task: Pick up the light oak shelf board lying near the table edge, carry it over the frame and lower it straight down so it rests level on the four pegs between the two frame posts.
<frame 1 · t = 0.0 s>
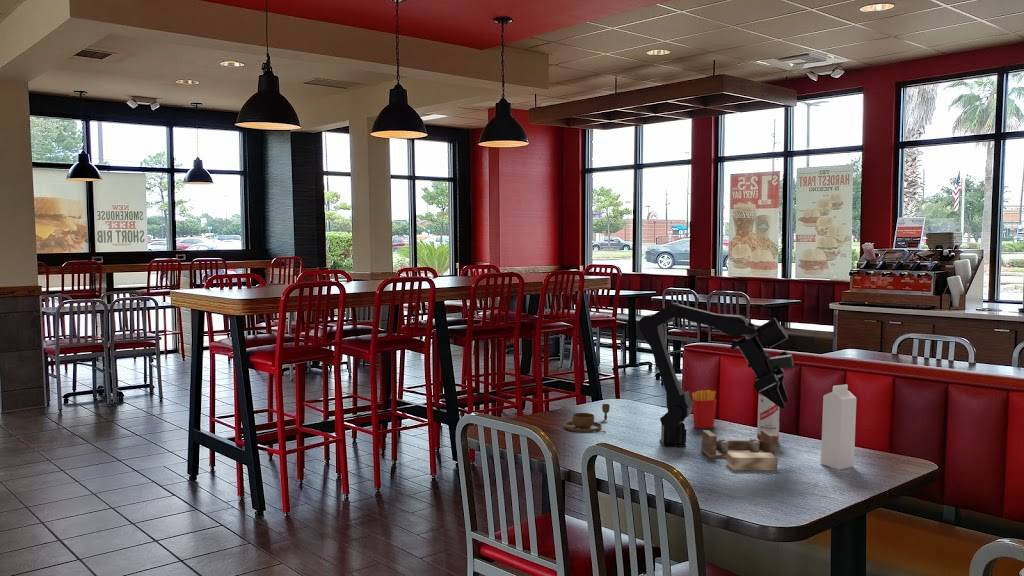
hand: (785, 404, 221), 15 cm above the table, tool tilted 35°, fingers open, 9 cm apart
milk: (837, 466, 215), on the table
french fries: (703, 427, 258), on the table
place setting: (593, 429, 256), on the table
frame: (738, 453, 226), on the table
beer can: (767, 442, 240), on the table
board: (751, 468, 213), on the table
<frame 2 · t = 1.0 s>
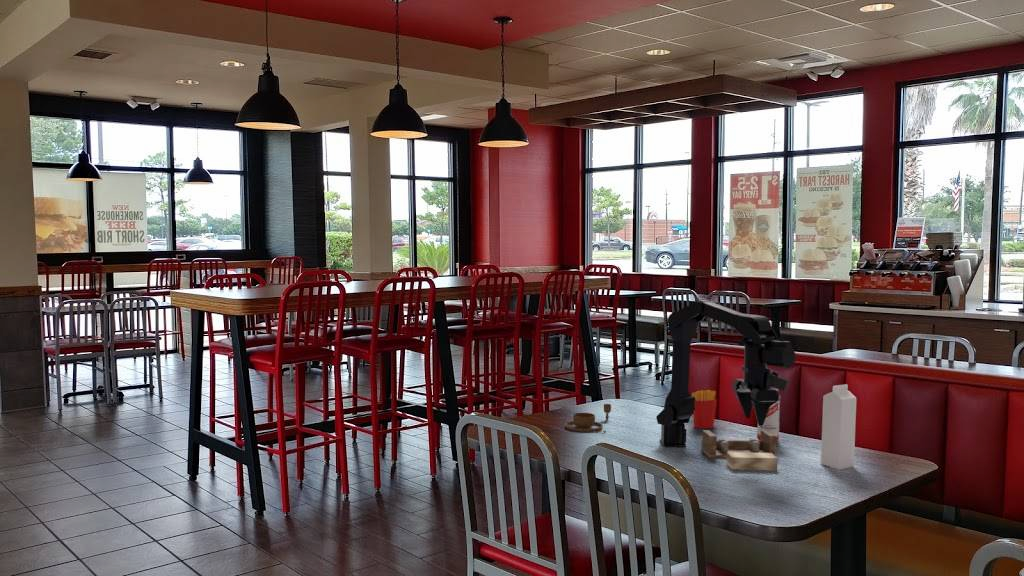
hand: (754, 421, 212), 12 cm above the table, tool pointing down, fingers open, 9 cm apart
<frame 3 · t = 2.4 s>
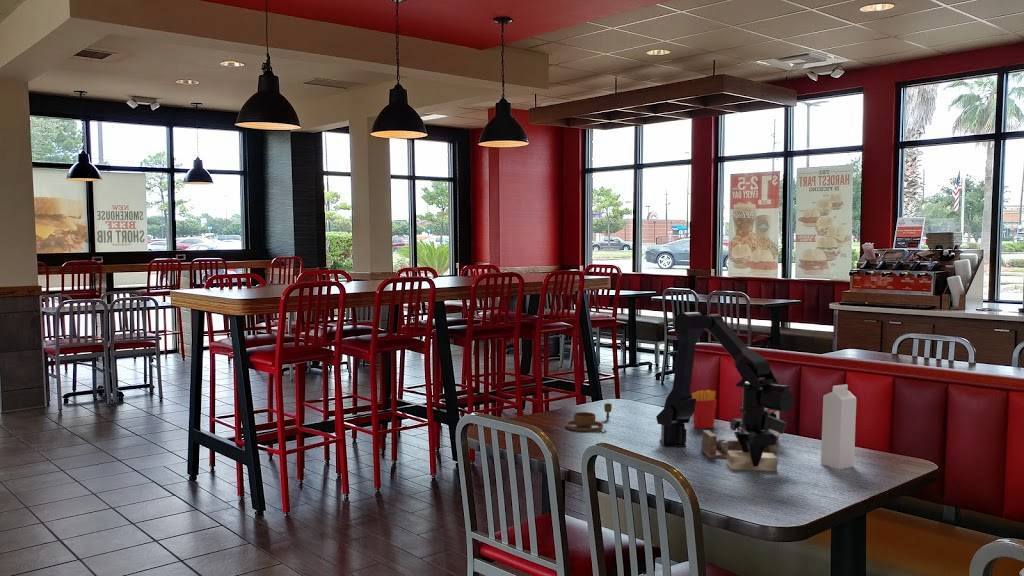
hand: (751, 463, 213), 1 cm above the table, tool pointing down, fingers closed on board, 5 cm apart
board: (751, 468, 213), on the table, touching gripper
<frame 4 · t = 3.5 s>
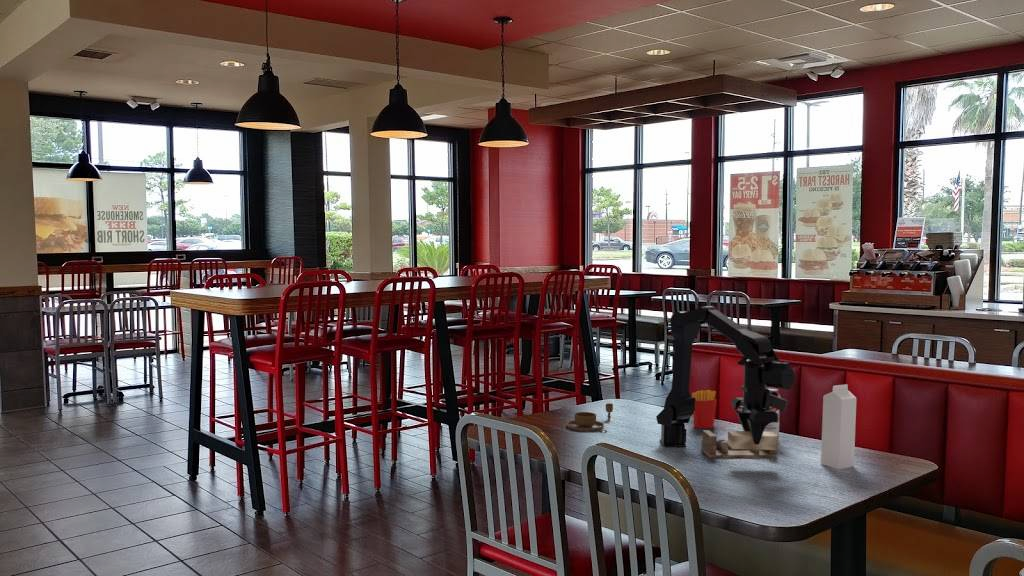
hand: (752, 441, 212), 7 cm above the table, tool pointing down, fingers closed on board, 5 cm apart
board: (752, 446, 212), point 6 cm above the table, touching gripper
when the fingers open (11 cm above the table, at t = 4.3 s): board drops 5 cm, resting on frame.
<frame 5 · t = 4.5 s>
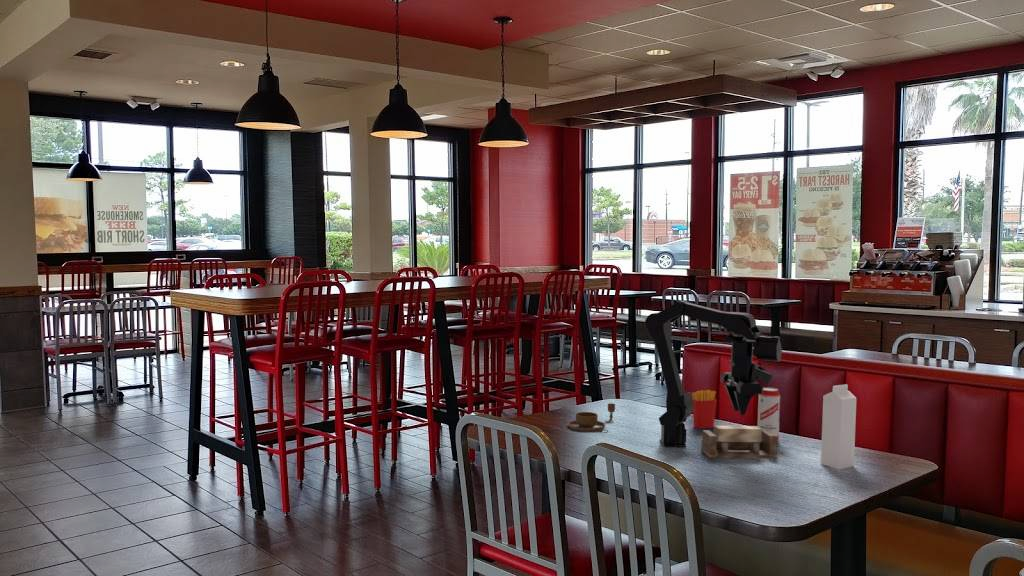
hand: (739, 413, 224), 12 cm above the table, tool pointing down, fingers open, 5 cm apart
board: (737, 440, 226), point 4 cm above the table, touching frame
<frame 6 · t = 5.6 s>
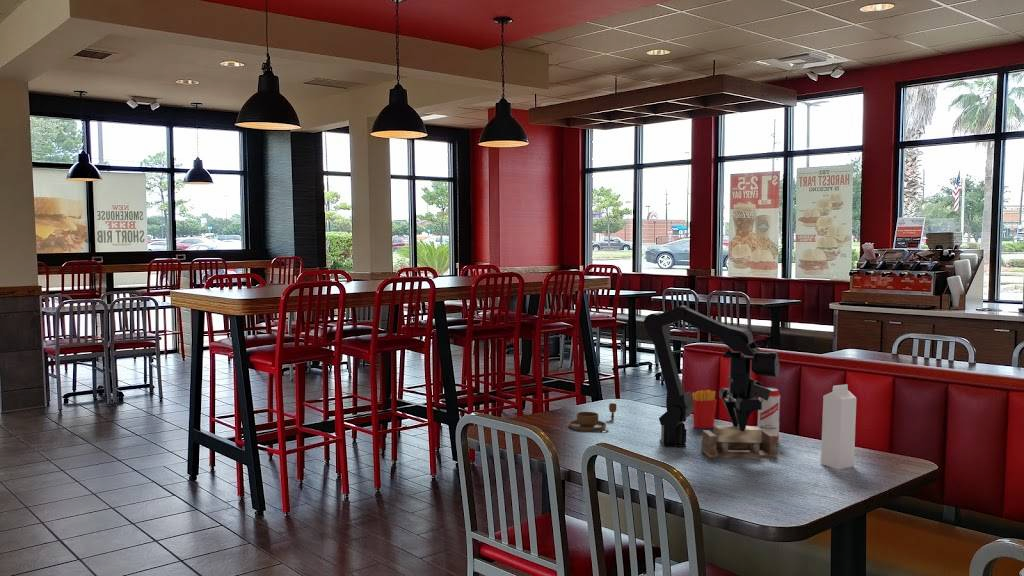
hand: (739, 428, 225), 7 cm above the table, tool pointing down, fingers open, 5 cm apart
board: (737, 440, 226), point 4 cm above the table, touching frame, gripper
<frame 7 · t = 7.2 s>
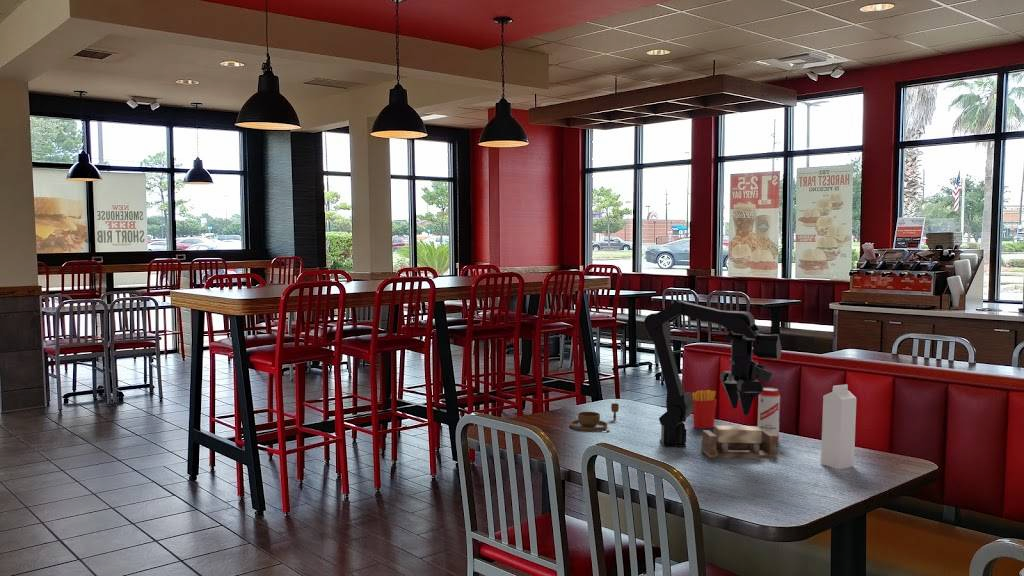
hand: (740, 411, 225), 12 cm above the table, tool pointing down, fingers open, 9 cm apart
board: (737, 440, 226), point 4 cm above the table, touching frame
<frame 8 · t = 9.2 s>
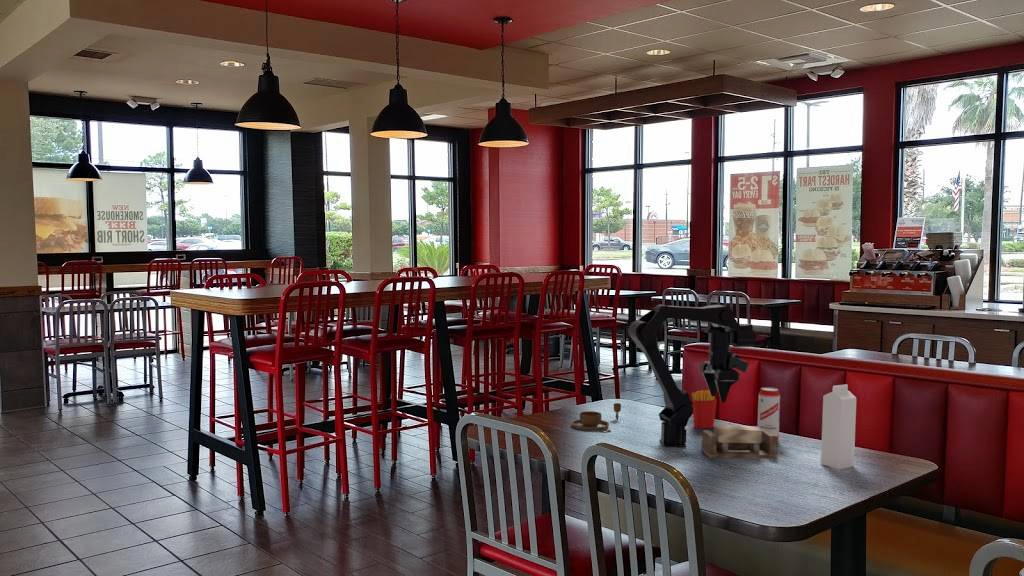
hand: (718, 399, 238), 13 cm above the table, tool pointing down, fingers open, 9 cm apart
at the end: board 0.4 cm off-centre on the frame, point 3.8 cm above the frame's base; board tilted 0°; the gripper is holding nothing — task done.
